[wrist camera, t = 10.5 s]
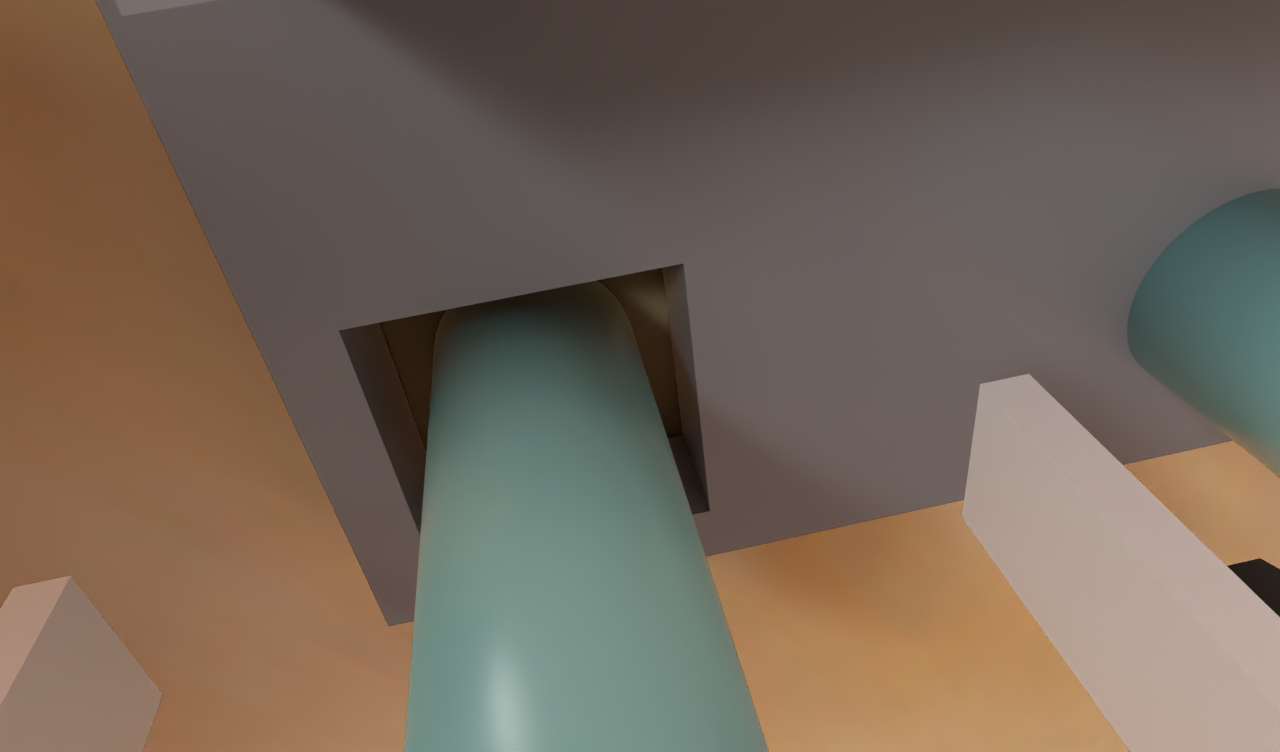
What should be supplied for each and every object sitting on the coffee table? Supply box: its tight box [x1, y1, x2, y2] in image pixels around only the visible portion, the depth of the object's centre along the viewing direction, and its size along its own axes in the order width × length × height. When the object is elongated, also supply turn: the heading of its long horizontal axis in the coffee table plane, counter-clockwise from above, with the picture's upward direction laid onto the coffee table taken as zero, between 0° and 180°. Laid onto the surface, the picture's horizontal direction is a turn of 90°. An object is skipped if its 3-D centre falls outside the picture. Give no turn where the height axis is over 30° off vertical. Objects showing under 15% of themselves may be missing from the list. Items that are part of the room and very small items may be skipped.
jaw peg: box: [404, 281, 769, 752], centre depth 12 cm, size 4×4×10 cm
